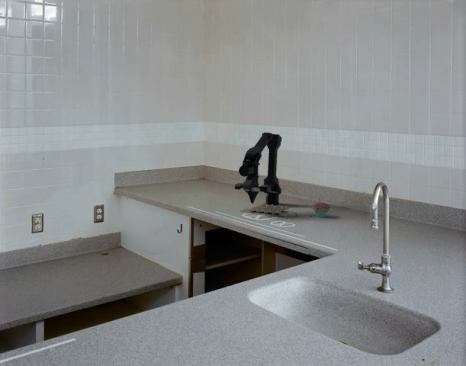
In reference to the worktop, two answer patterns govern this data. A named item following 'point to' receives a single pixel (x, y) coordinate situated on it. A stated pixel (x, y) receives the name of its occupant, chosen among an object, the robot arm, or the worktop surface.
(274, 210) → the domino
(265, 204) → the domino
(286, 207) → the domino
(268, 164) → the robot arm
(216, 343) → the worktop surface
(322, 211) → the cupcake
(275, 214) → the mat
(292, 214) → the domino
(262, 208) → the domino
